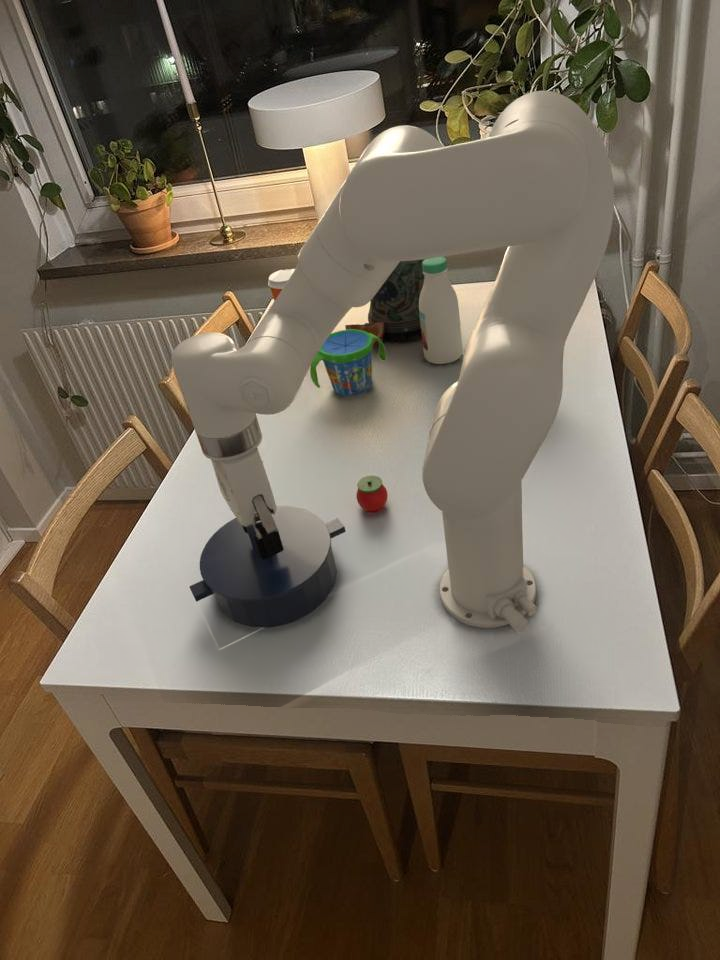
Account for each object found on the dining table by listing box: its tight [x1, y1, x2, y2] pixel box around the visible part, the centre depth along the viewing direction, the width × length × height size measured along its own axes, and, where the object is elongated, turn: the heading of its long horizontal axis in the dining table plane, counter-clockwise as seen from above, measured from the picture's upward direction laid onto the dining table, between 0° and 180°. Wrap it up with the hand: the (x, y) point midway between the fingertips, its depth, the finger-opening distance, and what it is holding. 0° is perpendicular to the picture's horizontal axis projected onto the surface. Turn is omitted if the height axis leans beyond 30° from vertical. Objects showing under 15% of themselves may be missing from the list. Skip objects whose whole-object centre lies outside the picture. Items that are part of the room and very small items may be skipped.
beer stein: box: [367, 259, 425, 344], centre depth 154 cm, size 16×19×25 cm
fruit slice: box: [344, 322, 385, 347], centre depth 156 cm, size 8×7×5 cm
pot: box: [189, 517, 347, 629], centre depth 104 cm, size 17×23×6 cm
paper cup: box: [267, 268, 295, 301], centre depth 163 cm, size 8×8×14 cm
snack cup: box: [309, 329, 387, 397], centre depth 141 cm, size 16×11×10 cm
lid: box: [199, 505, 332, 603], centre depth 100 cm, size 18×18×7 cm
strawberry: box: [355, 475, 388, 514], centre depth 113 cm, size 5×5×6 cm
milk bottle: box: [419, 256, 463, 365], centre depth 143 cm, size 8×8×20 cm
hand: (263, 540), depth 101 cm, fingers open, 5 cm apart
